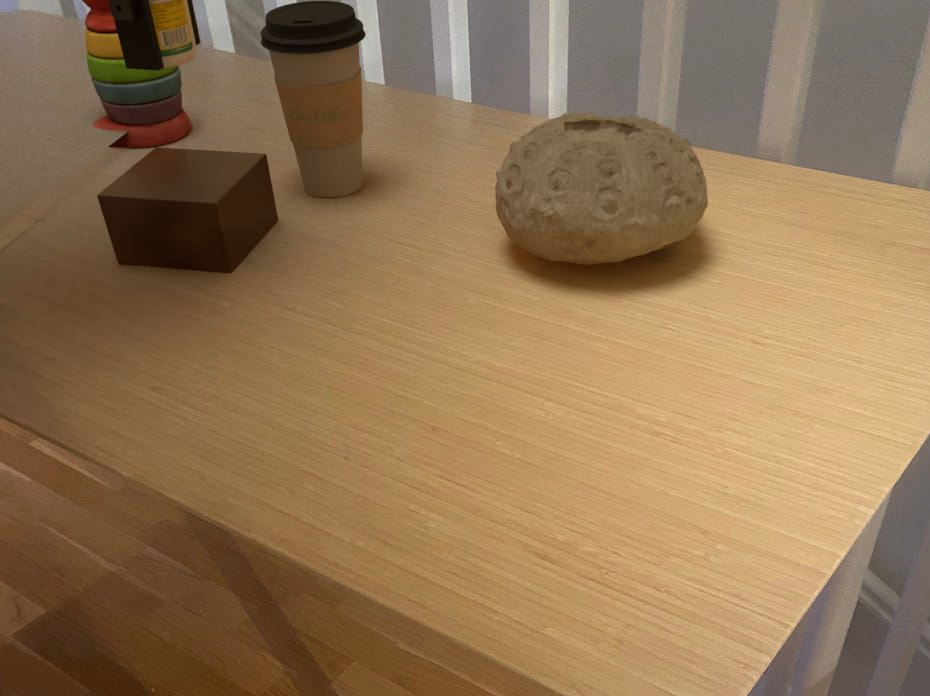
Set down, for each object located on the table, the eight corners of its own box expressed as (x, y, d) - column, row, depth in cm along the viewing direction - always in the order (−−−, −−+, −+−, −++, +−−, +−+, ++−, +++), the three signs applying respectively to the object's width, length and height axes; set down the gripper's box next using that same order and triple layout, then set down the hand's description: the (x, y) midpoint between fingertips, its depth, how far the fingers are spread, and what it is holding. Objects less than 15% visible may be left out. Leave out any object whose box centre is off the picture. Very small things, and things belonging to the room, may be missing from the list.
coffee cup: (302, 212, 94) (272, 34, 83) (275, 178, 100) (244, 7, 89) (394, 193, 96) (377, 17, 85) (362, 160, 102) (343, -8, 91)
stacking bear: (144, 111, 115) (96, -74, 102) (214, 122, 112) (173, -68, 99) (81, 143, 109) (21, -50, 96) (153, 155, 105) (101, -42, 92)
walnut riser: (117, 263, 88) (96, 195, 83) (172, 212, 95) (155, 146, 91) (231, 273, 85) (215, 203, 81) (278, 219, 93) (266, 153, 88)
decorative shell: (593, 187, 95) (598, 73, 88) (743, 243, 86) (762, 120, 79) (456, 247, 87) (449, 127, 80) (604, 316, 78) (612, 187, 71)
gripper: (32, -384, 51) (151, 99, 68) (190, -388, 64) (258, 23, 80) (-90, -379, 53) (55, 92, 70) (88, -384, 65) (175, 18, 82)
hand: (164, 54), depth 75 cm, fingers closed on supplement bottle, 5 cm apart
